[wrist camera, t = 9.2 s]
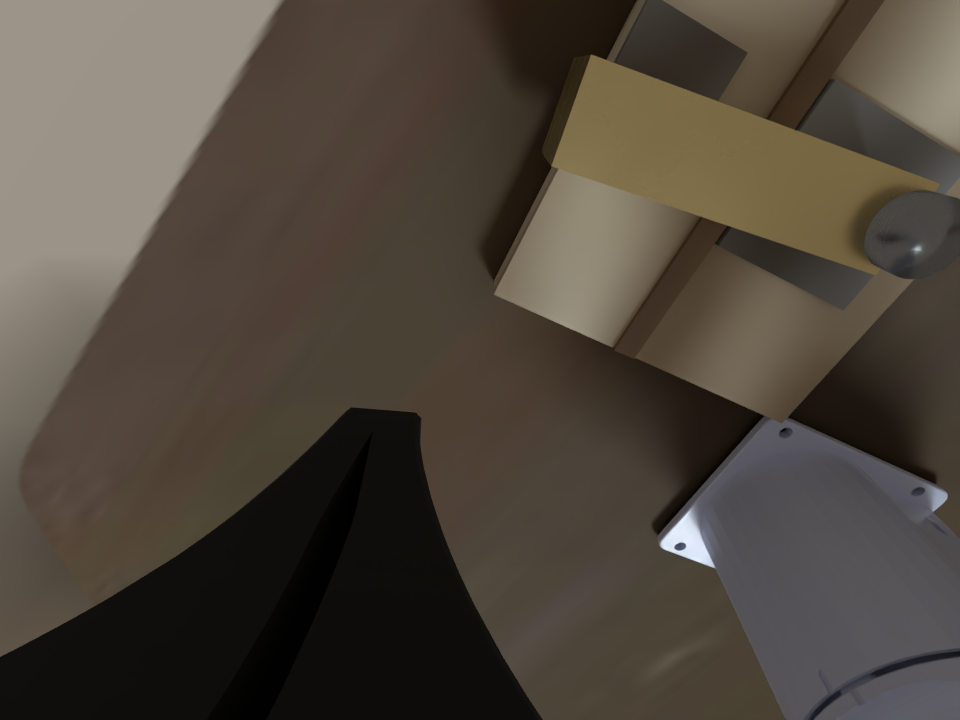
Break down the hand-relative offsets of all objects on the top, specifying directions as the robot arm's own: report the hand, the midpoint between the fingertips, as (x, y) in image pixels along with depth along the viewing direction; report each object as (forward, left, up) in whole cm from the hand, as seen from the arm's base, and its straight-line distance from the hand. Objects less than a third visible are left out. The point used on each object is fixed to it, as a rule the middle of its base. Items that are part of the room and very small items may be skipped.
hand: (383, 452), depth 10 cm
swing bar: (-6, -7, -8) cm, 12 cm away
